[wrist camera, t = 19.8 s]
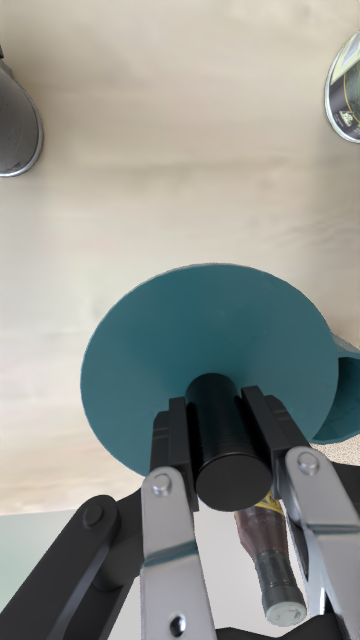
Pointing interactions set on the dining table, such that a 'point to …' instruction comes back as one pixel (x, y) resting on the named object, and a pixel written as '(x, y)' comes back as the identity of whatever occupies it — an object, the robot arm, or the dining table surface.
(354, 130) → the coffee can
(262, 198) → the dining table surface
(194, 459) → the pot lid
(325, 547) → the robot arm
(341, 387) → the pot
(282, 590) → the sauce bottle
